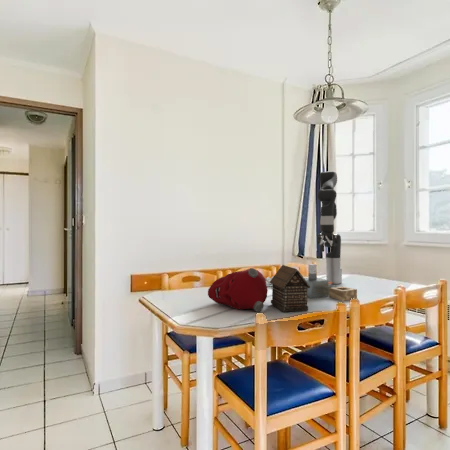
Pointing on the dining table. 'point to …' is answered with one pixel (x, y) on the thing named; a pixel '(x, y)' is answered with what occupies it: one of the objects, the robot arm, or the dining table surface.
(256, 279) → the mask
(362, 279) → the dining table surface
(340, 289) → the brown square box
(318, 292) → the grey tissue box
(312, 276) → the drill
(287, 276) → the model building
